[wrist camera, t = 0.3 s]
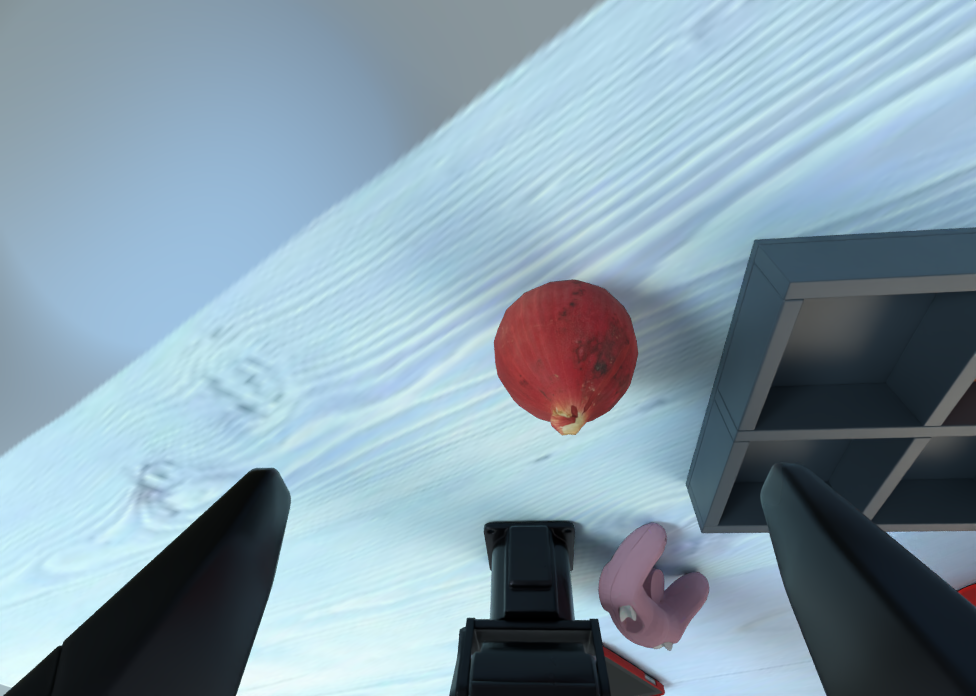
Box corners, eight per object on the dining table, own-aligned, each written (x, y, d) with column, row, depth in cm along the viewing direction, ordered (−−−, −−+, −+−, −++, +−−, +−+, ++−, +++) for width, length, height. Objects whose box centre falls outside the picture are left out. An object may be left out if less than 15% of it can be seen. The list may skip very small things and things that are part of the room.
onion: (561, 220, 21) (582, 335, 15) (646, 298, 23) (694, 426, 17) (473, 304, 24) (458, 430, 17) (555, 365, 26) (569, 497, 20)
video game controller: (606, 511, 37) (578, 607, 33) (665, 520, 34) (640, 627, 30) (659, 567, 42) (639, 656, 38) (714, 579, 38) (698, 677, 35)
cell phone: (597, 640, 48) (598, 651, 47) (666, 684, 55) (668, 694, 54) (532, 656, 51) (533, 667, 50) (605, 696, 58) (607, 706, 57)
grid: (973, 479, 30) (1018, 530, 28) (685, 483, 32) (701, 533, 29) (1208, 213, 19) (1321, 256, 17) (754, 239, 21) (790, 282, 18)
